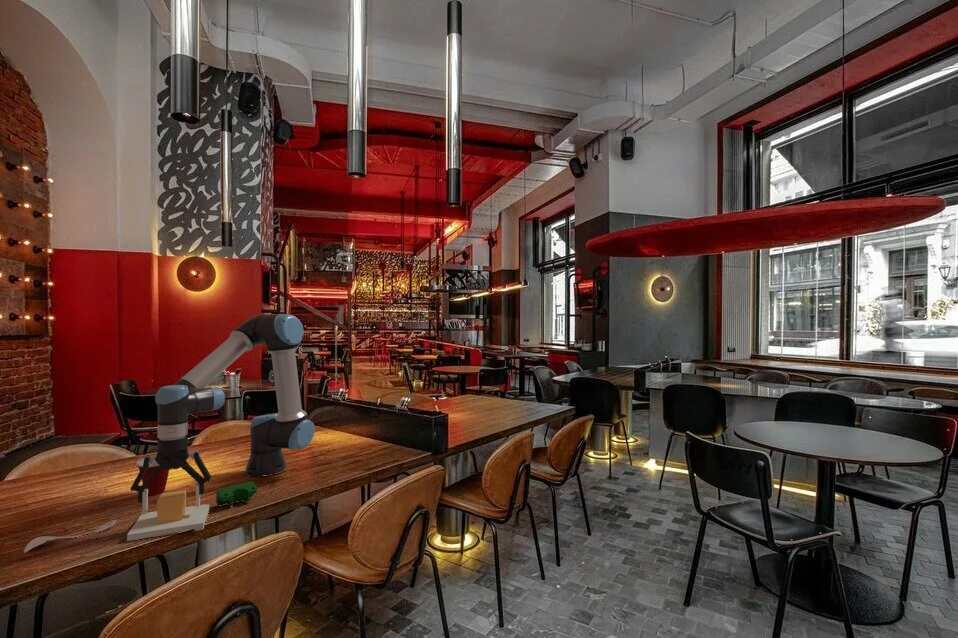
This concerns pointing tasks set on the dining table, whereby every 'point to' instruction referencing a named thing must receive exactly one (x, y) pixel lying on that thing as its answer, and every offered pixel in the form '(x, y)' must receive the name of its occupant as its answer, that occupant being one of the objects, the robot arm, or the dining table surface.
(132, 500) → the dining table surface
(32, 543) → the metal spoon
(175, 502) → the tan wooden block
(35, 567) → the dining table surface
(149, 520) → the base plate
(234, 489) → the clamp
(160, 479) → the plastic cup
